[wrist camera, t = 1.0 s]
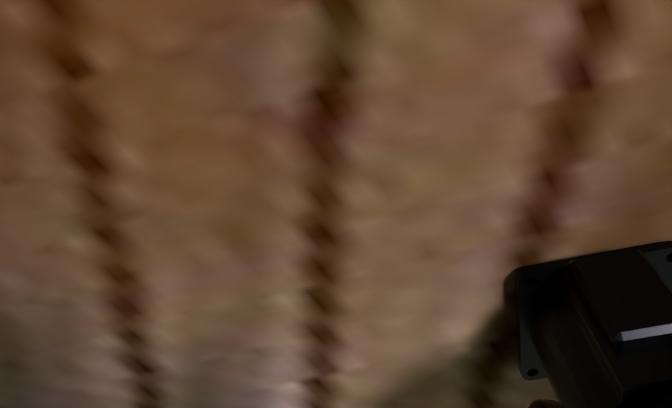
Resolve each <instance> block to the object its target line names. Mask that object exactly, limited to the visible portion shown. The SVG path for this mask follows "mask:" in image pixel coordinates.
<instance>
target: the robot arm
mask: <svg viewBox="0 0 672 408" xmlns="http://www.w3.org/2000/svg"><path fill="white" fill-rule="evenodd" d="M669 253H671V254H670V255H668V254H669ZM531 277H533V278H532V279H531V280H527V279H528V278H531ZM516 305H517V334H518V362H519V370H520V372H521V375H522V377H523V378H524V379H526V380H535V379H541V378H547V377H548V379H549V381H550V384H551V386H552V388H553V391H554V393H555V395H556V397H557V400H558V401H552V400H541V399H537V400H534V401H533V402H531V404H530V405H529V407H528V408H672V241H666V242H660V243H655V244H649V245H644V246H638V247H633V248H627V249H621V250H616V251H610V252H605V253H599V254H594V255H588V256H582V257H577V258H571V259H566V260H560V261H555V262H549V263H544V264H538V265H532V266H527V267H524V268H522V269H521V270H519V271H518V273H517V274H516Z"/></svg>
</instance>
